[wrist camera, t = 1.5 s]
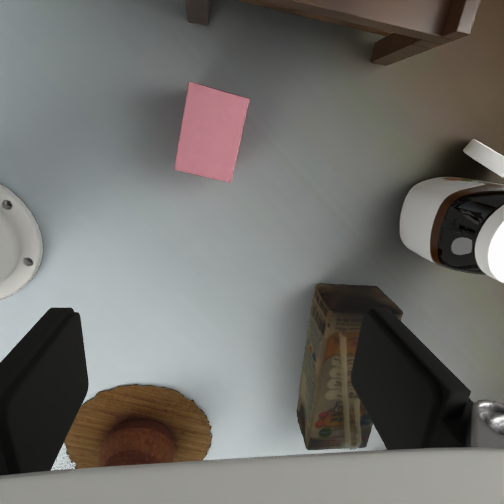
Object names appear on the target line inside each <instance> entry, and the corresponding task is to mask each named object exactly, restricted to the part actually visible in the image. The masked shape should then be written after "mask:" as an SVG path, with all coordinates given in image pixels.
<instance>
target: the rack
mask: <svg viewBox="0 0 504 504" xmlns="http://www.w3.org/2000/svg"><path fill="white" fill-rule="evenodd" d="M237 1H241V2H245V3H249V4H254V5H258V6H262V7H266V8H270V9H275V10H279V11H283V12H287V13H291V14H296V15H300V16H304V17H308V18H312V19H317V20H321V21H325V22H329V23H334V24H338V25H342V26H346V27H350V28H355V29H359V30H363V31H367V32H371V33H376V34H380V35H384V36H387V35H389V34H390V35H389V36H387V37H385V38H383V39H381V40H379V41H377V42H375V45H374V50H373V54H372V58H371V62H372V63H376V64H381V65H385V66H386V65H389V64H392V63H395V62H397V61H400V60H403V59H405V58H408V57H411V56H413V55H416V54H419V53H422V52H424V51H427V50H430V49H432V48H434V47H437V46H440V45H442V44H445V43H448V42H450V41H453V40H456V39H459V38H462V37H464V36H467V35H469V34H470V32H471V29H472V26H473V23H474V20H475V17H476V13H477V10H478V7H479V4H480V1H481V0H237ZM185 3H186V9H187V15H188V21H189V22H191V23H196V24H200V25H205V26H207V25H208V18H209V8H210V0H185ZM391 32H393V33H392V34H391Z"/></svg>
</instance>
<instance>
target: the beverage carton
mask: <svg viewBox="0 0 504 504" xmlns="http://www.w3.org/2000/svg"><path fill="white" fill-rule="evenodd" d="M370 308H388V309H389V310H390V311H391V312H392V313H393V314H394V315H395V316H396V317H397V318H398V319H399V320H400V321H401V318H402V315H403V312H402V310H401V309H399V307H398V306H397V305H396V304H395V303H394V302H393V301H392V300H391V299H389V298H388V297H387V296H386V295H385V294H384V293H383V292H382V291H381V290H380V289H379V288H378V287H377V286H354V285H334V284H316V286H315V292H314V297H313V303H312V308H311V315H310V321H309V328H308V335H307V341H306V347H305V355H304V362H303V368H302V375H301V382H300V390H299V400H298V407H297V417H298V423H299V426H300V430H301V433H302V435H303V438H304V442H305V446H306V448H307V450H323V449H348V448H349V449H357V448H364V447H366V446H367V442H368V439H369V435H370V433H371V428H372V425H373V422H372V420H371V419H370V417H369V415H368V413H367V411H366V410H365V408H364V406H363V404H362V402H361V401H360V399H359V397H358V395H357V393H356V392H355V390H354V388H353V386H352V383H351V371H352V367H353V362H354V357H355V352H356V347H357V342H358V337H359V332H360V327H361V323H362V318H363V314H364V313H365V312H368V310H369V309H370Z"/></svg>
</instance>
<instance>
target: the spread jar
mask: <svg viewBox="0 0 504 504" xmlns="http://www.w3.org/2000/svg"><path fill="white" fill-rule="evenodd" d="M463 152H464V153H466V154H467V155H468V156H470V157H471V158H473V159H474V160H476V161H477V162H479V163H480V164H482V165H483V166H485V167H486V168H488V169H489V170H491V171H493V172H494V173H496V174H497V175H499V176H501V177H502V178H504V156H502V155H501V154H499V153H497V152H496V151H494V150H492V149H491V148H489V147H487V146H485V145H484V144H482V143H480V142H479V141H477V140H475V139H472V140H471V141H470V142H469V144H468V145H467V146H466V147H465V148H464V149H463ZM399 230H400V237H401V240H402V242H403V243H404V245H405V246H406V247H407V248H409V249H410V250H412V251H413V252H415V253H417V254H418V255H420V256H422V257H423V258H425V259H427V260H429V261H431V262H433V263H435V264H437V265H439V266H442V267H445V268H448V269H451V270H455V271H461V272H466V273H472V274H481V275H488V276H490V277H492V278H494V279H496V280H498V281H500V282H502V283H504V184H499V183H493V182H488V181H482V180H476V179H468V178H459V177H436V178H430V179H427V180H424V181H421V182H419V183H417V184H415V185H414V186H413V187H411V189H410V190H409V191H408V193H407V194H406V196H405V199H404V201H403V204H402V207H401V211H400V217H399Z"/></svg>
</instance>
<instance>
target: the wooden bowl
mask: <svg viewBox="0 0 504 504" xmlns="http://www.w3.org/2000/svg"><path fill="white" fill-rule="evenodd" d="M203 413H204V412H203V411H202V410H200V409H199V408H198V406H197V405H196V404H195V403H194V401H193V400H189V399H187V398H185V397H184V396H183V395H181V394H180V393H179V392H178V391H175V390H172V389H166V388H164V387H163V388H158V387H155V386H150V385H148V386H138V385H137V384H135V385H133V386H131V385H128V386H118V387H116V388H115V389H112V390H109V391H102V392H99V393H97V395H96V396H95V398H94V399H91V400H89V401H88V402H86V403H84V404H83V405H82V406H81V408H80V410H79V411H78V413H77V415H76V417H75V420H74V422H73V424H72V426H71V428H70V430H69V432H68V434H67V436H66V438H65V441H64V443H65V445H66V448H67V452H66V453H67V454H68V455H70V456H69V458H70V460H71V462H72V463H73V462H75V463H76V466H75V469H81V468H95V467H110V466H126V465H141V464H156V463H172V462H187V461H202V460H203V459H204V458H205V456H206V455H207V451H208V449H209V448H210V446H211V444H210V442H211V439H212V436H210V435H211V434H212V433H210V430H211V426H208V425H209V424H208V423H209V421H207V420H206V419H207V416H206V415H204V414H203Z"/></svg>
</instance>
